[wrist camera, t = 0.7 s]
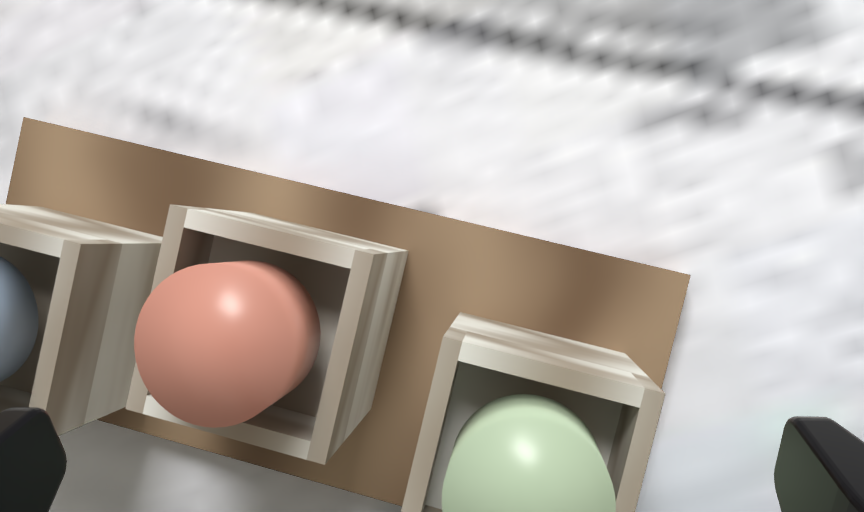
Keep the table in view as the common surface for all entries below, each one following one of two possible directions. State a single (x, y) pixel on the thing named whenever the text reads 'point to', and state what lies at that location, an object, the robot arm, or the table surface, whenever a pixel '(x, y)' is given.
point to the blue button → (15, 319)
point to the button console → (329, 315)
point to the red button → (225, 340)
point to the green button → (526, 461)
